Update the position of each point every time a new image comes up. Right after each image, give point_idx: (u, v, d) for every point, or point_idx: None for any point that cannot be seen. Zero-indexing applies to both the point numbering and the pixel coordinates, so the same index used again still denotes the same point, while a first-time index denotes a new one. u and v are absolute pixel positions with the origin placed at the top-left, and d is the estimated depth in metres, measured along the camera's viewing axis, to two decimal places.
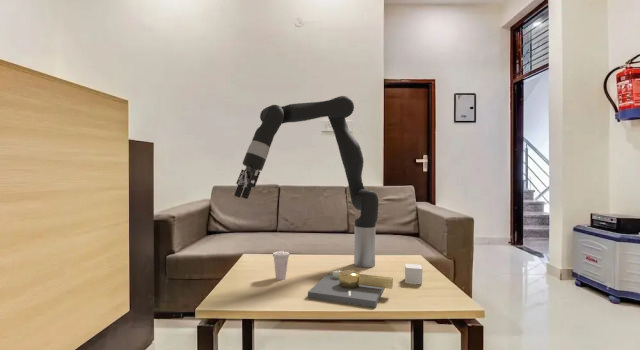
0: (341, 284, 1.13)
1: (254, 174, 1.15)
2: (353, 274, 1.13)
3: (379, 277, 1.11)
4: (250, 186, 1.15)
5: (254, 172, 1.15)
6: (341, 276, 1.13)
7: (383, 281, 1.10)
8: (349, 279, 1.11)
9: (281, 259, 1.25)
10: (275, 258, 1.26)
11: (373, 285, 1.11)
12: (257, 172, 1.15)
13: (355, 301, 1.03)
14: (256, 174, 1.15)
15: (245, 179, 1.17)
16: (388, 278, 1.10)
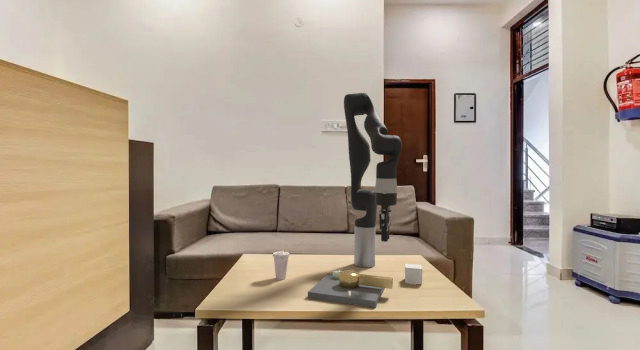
0: (341, 284, 1.13)
1: None
2: (353, 274, 1.13)
3: (379, 277, 1.11)
4: None
5: None
6: (341, 276, 1.13)
7: (383, 281, 1.10)
8: (349, 279, 1.11)
9: (281, 259, 1.25)
10: (275, 258, 1.26)
11: (373, 285, 1.11)
12: None
13: (355, 301, 1.03)
14: None
15: None
16: (388, 278, 1.10)
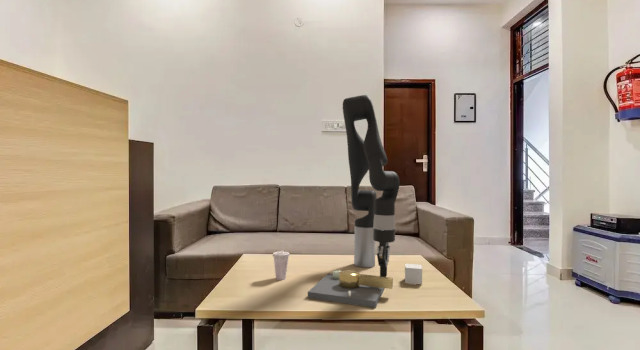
0: (341, 284, 1.13)
1: None
2: (353, 274, 1.13)
3: (379, 277, 1.11)
4: None
5: None
6: (341, 276, 1.13)
7: (383, 281, 1.10)
8: (349, 279, 1.11)
9: (281, 259, 1.25)
10: (275, 258, 1.26)
11: (373, 285, 1.11)
12: None
13: (355, 301, 1.03)
14: None
15: None
16: (388, 278, 1.10)
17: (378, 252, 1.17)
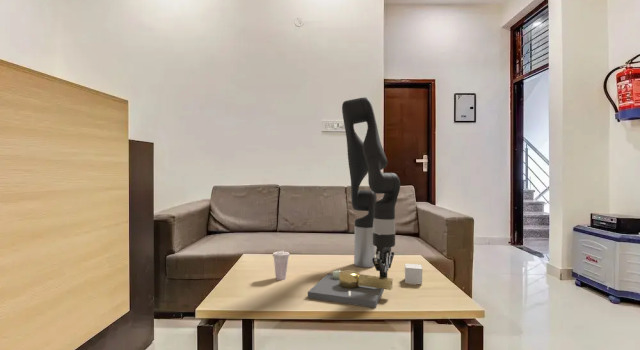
0: (341, 284, 1.13)
1: None
2: (353, 274, 1.13)
3: (378, 278, 1.10)
4: None
5: None
6: (341, 276, 1.13)
7: (382, 282, 1.09)
8: (348, 279, 1.11)
9: (281, 259, 1.25)
10: (275, 258, 1.26)
11: (372, 285, 1.10)
12: None
13: (355, 301, 1.03)
14: None
15: (389, 263, 1.13)
16: (387, 279, 1.09)
17: None
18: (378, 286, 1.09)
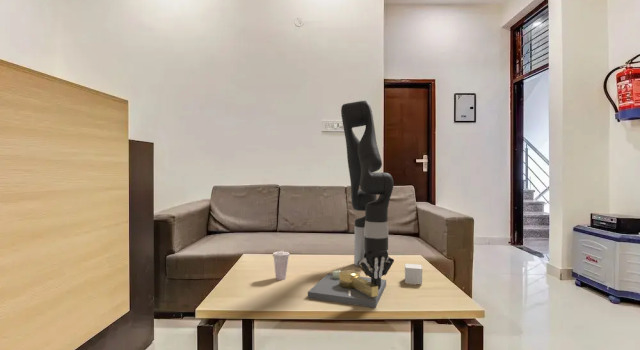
0: (339, 282, 1.15)
1: None
2: (349, 274, 1.13)
3: (366, 282, 1.06)
4: None
5: None
6: (339, 274, 1.15)
7: (366, 287, 1.04)
8: (342, 278, 1.12)
9: (281, 259, 1.25)
10: (275, 258, 1.26)
11: (360, 289, 1.07)
12: None
13: (355, 301, 1.03)
14: None
15: (382, 269, 1.06)
16: (372, 285, 1.03)
17: None
18: (363, 291, 1.05)
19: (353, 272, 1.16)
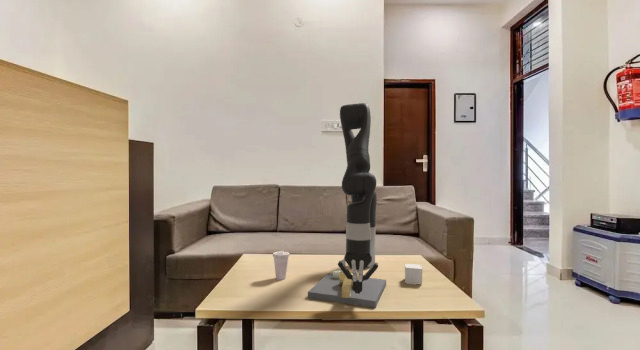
0: None
1: None
2: None
3: (346, 283, 1.05)
4: None
5: (376, 268, 1.02)
6: None
7: None
8: (339, 276, 1.14)
9: (281, 259, 1.25)
10: (275, 258, 1.26)
11: None
12: None
13: (355, 301, 1.03)
14: None
15: (361, 273, 1.02)
16: (345, 286, 1.02)
17: None
18: None
19: None
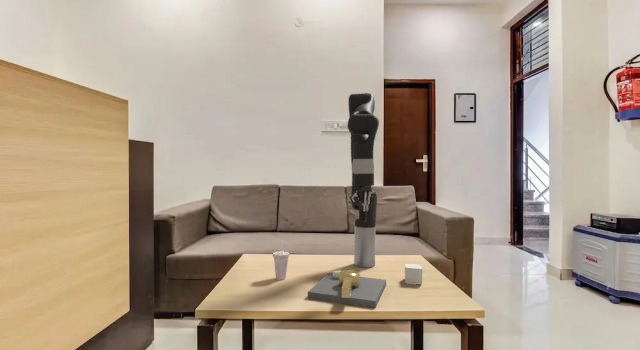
0: None
1: None
2: (346, 274, 1.13)
3: (346, 283, 1.05)
4: None
5: None
6: None
7: None
8: (339, 276, 1.14)
9: (281, 259, 1.25)
10: (275, 258, 1.26)
11: None
12: None
13: (355, 301, 1.03)
14: None
15: (368, 202, 1.16)
16: (345, 286, 1.02)
17: None
18: None
19: (354, 273, 1.15)
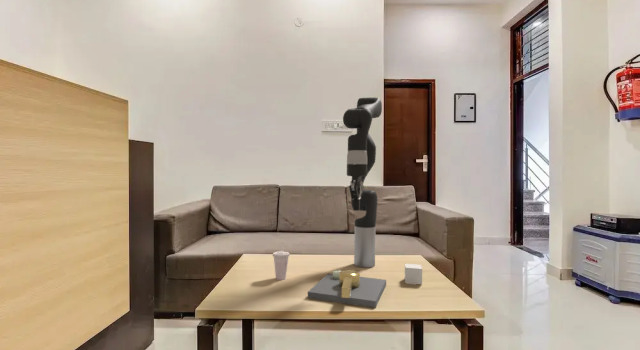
0: None
1: None
2: (346, 274, 1.13)
3: (346, 283, 1.05)
4: None
5: None
6: None
7: None
8: (339, 276, 1.14)
9: (281, 259, 1.25)
10: (275, 258, 1.26)
11: None
12: None
13: (355, 301, 1.03)
14: None
15: (361, 192, 1.24)
16: (345, 286, 1.02)
17: None
18: None
19: (354, 273, 1.15)
